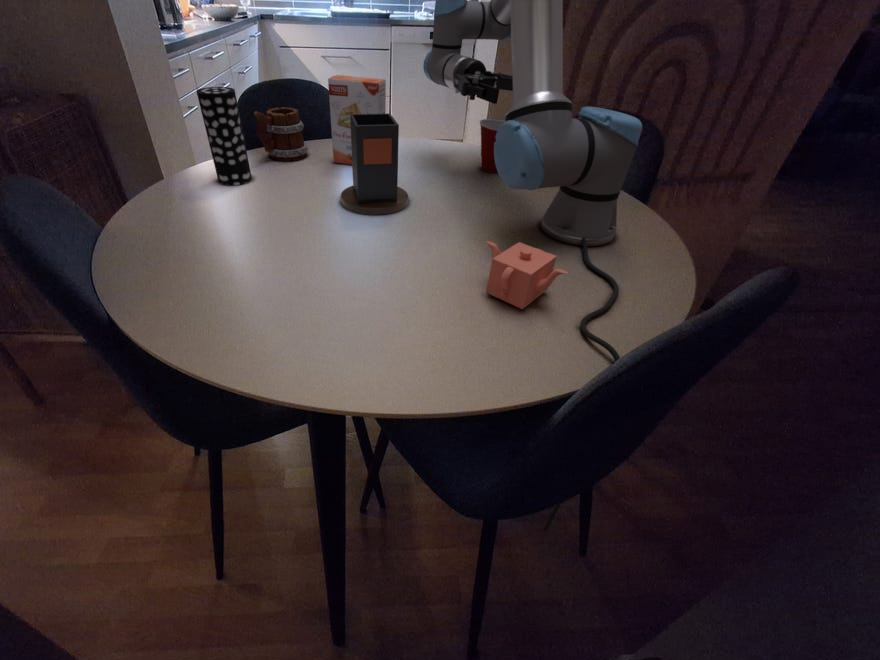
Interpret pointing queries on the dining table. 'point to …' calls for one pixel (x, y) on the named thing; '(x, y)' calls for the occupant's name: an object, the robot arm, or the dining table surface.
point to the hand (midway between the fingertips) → (521, 94)
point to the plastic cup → (489, 143)
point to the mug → (282, 134)
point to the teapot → (520, 273)
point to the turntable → (375, 208)
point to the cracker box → (352, 108)
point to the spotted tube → (225, 134)
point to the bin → (374, 157)
